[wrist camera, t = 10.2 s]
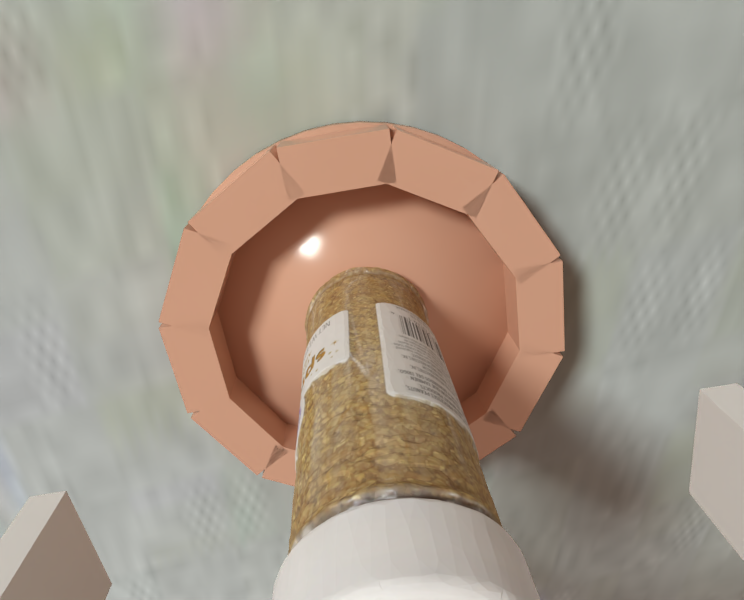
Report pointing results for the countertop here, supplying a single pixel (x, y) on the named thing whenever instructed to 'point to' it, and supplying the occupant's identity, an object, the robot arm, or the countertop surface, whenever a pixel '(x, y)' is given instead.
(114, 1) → the countertop surface
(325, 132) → the saucer
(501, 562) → the sprinkles bottle
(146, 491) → the countertop surface
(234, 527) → the countertop surface
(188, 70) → the countertop surface
